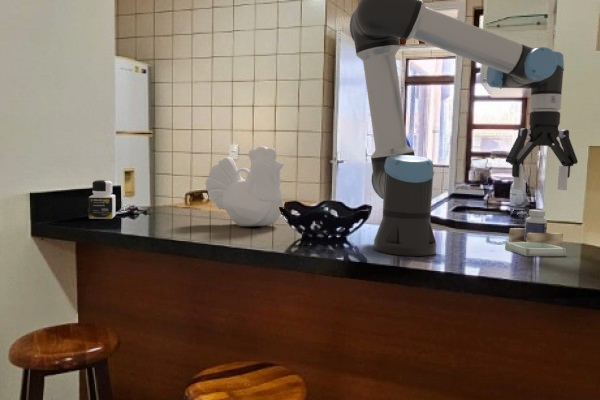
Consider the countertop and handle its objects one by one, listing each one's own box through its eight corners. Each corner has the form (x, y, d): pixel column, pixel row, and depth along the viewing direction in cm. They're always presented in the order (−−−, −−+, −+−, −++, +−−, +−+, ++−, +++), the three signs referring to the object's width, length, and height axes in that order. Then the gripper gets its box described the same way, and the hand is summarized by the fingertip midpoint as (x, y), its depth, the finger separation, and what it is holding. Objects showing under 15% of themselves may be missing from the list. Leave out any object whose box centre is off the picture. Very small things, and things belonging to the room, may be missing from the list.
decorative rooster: (291, 226, 166) (294, 147, 164) (266, 232, 152) (269, 145, 150) (226, 218, 178) (228, 145, 175) (197, 224, 163) (198, 143, 161)
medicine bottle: (88, 218, 167) (88, 180, 166) (92, 215, 174) (92, 179, 173) (112, 218, 168) (112, 181, 167) (115, 216, 175) (115, 180, 174)
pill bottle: (547, 247, 142) (550, 211, 141) (526, 246, 143) (529, 210, 142) (542, 244, 148) (545, 209, 147) (522, 243, 149) (524, 208, 148)
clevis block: (528, 248, 140) (529, 233, 140) (508, 242, 149) (509, 228, 149) (561, 248, 142) (563, 233, 142) (540, 242, 151) (541, 228, 150)
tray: (525, 256, 129) (526, 248, 129) (504, 249, 138) (505, 242, 137) (565, 255, 131) (566, 248, 131) (542, 248, 140) (543, 242, 140)
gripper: (511, 108, 136) (506, 190, 138) (595, 111, 141) (589, 190, 143) (495, 110, 143) (491, 188, 145) (576, 113, 148) (570, 188, 150)
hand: (540, 189), depth 144 cm, fingers open, 13 cm apart
